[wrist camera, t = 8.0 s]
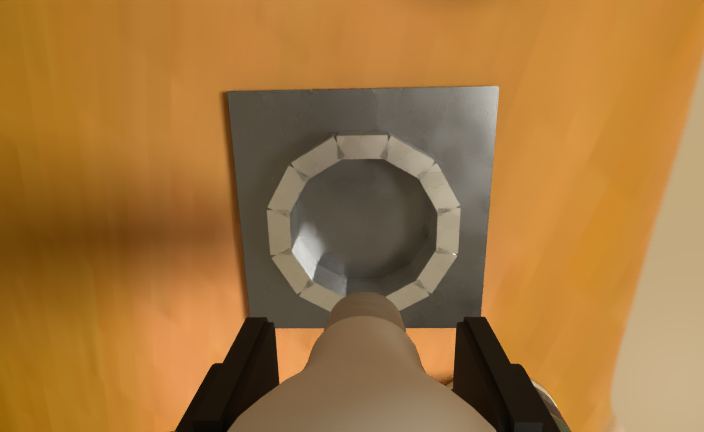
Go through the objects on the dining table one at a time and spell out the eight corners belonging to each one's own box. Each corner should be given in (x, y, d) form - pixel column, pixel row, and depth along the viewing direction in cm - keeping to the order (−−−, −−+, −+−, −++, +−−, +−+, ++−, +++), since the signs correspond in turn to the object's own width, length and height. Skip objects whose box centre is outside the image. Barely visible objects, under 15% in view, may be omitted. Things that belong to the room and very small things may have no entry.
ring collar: (232, 91, 24) (211, 91, 21) (493, 86, 23) (515, 85, 20) (254, 320, 28) (240, 351, 25) (475, 319, 28) (491, 350, 24)
